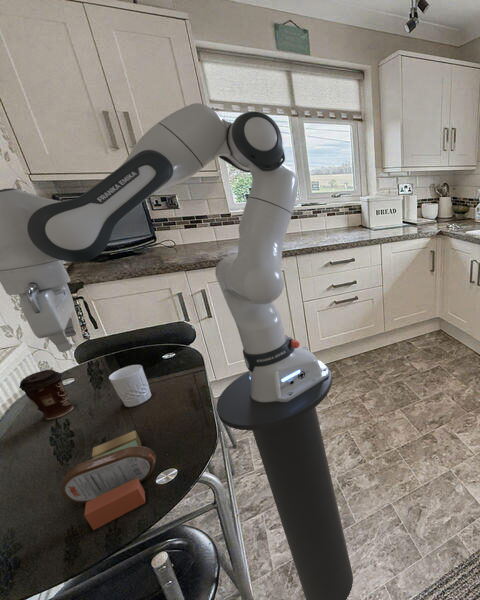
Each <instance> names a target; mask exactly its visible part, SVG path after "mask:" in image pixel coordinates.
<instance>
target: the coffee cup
mask: <svg viewBox="0 0 480 600" xmlns="http://www.w3.org/2000/svg"><path fill="white" fill-rule="evenodd" d="M62 377H63V373H61V372H59V371H56V370H54V369H45V370H40V371H36V372H34V373H31V374H29V375H27V376H26V377H24V378H22V379H21V380H20V382H19V386H18V388H19V389H20V390H21V391H22V392H24V393H25V396H26V397H27V398H28V399H29V401H30V402H31V403H32V404H33V406H34V407H35V408H36V410H38V411H39V412H41V413H42V414H43V418H44V419H45V420H53V419H58V418H61V417H63V416H65V415H67V414H68V413H70V412H71V411H73V409H74V407H75V406H74V404H73V403H72V402H71V399H70V397H69V395H68V393H67V390H66V388H65V384H64V383H63V380H62Z"/></svg>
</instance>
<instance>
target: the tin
mask: <svg viewBox="0 0 480 600" xmlns="http://www.w3.org/2000/svg"><path fill="white" fill-rule="evenodd" d="M156 462H157V455H156V453H155V452H154V450H152V449H151V448H150V447H148V446H147V447H146V446H143V445H141V446H132V447H127V448H124V449H121V450H118V451H116V452H113V453H110V454H107V455H104V456H101V457H98V458H95V459H93V458H91V459H90V460H87V461H83V462H81V463H79V464H76V465H75V466H73V467H72V468H71V469H70V470H68V472H67V473H66V474H65V476H64V478H63V482H62V484H61V488H60V491H61V494H62V496H63V497H64V498H65V499H67V500H68V501H69V502H70V501H71V502H74V503H86V502H88V501H90V500H92V499H94V498H96V497H98V496H100V495H102V494H104V493H107V492H109V491H111V490H113V489H115V488H117V487H119V486H121V485H123V484H125V483H127V482H129V481H131V480H133V479H135V478H138V479H139V481H140V483H141V482H142V483H143V482H144V481H145V480H146V479H147V478H148V477H150V476H151V474H152V473H153V470H154V468H155V464H156Z"/></svg>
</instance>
